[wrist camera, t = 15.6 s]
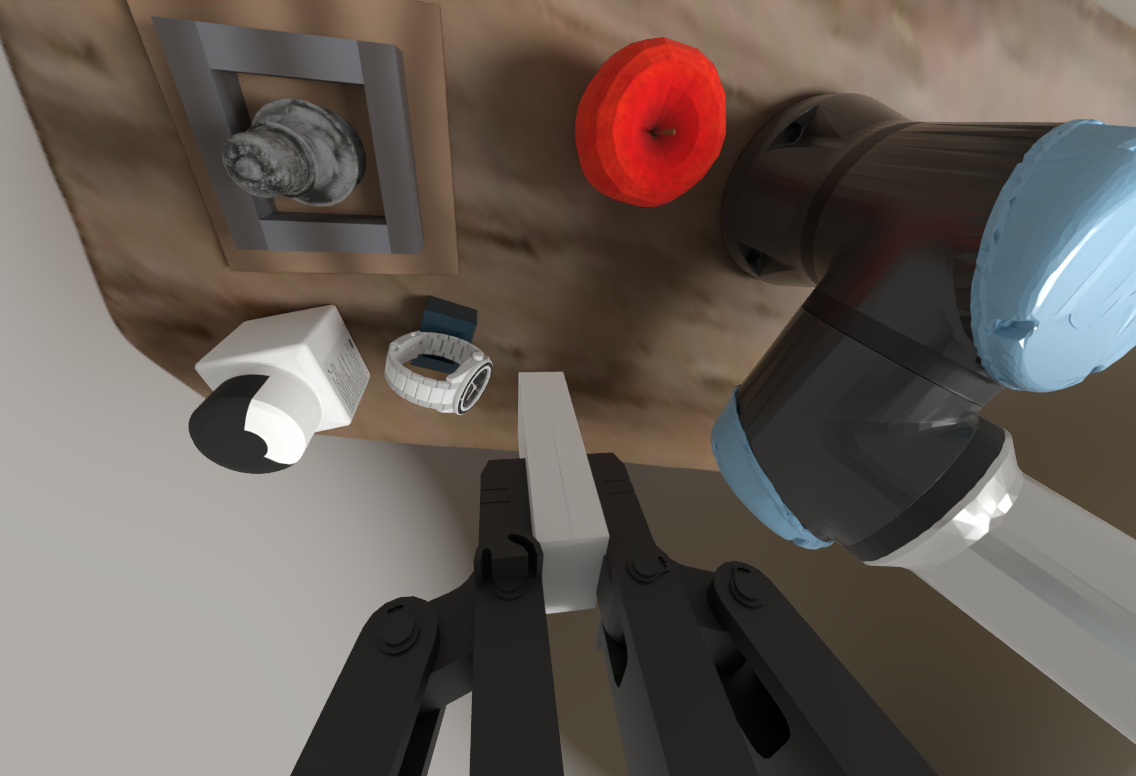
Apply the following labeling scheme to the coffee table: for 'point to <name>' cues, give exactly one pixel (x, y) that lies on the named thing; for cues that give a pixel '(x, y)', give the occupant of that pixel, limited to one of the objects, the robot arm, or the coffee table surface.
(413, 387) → the watch
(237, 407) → the container
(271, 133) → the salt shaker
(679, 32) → the coffee table surface
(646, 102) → the apple
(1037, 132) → the robot arm
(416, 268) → the holder
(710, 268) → the coffee table surface
